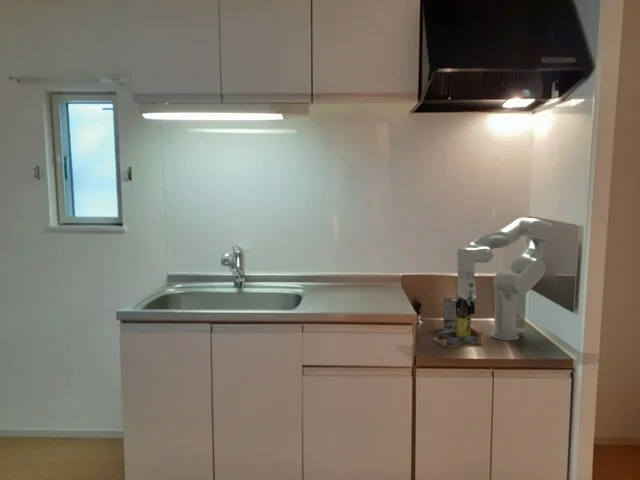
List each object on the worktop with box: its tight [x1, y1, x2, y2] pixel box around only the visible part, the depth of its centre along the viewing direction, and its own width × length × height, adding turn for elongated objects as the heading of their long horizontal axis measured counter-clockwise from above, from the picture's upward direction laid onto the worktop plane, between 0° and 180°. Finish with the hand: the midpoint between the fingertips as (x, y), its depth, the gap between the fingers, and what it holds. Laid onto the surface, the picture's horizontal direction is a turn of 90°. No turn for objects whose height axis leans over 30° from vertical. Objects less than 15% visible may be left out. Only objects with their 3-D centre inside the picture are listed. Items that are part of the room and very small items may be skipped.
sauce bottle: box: [456, 298, 472, 337], centre depth 218 cm, size 6×6×20 cm
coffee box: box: [442, 297, 459, 331], centre depth 233 cm, size 9×6×16 cm
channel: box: [432, 326, 483, 349], centre depth 218 cm, size 18×12×6 cm, turn 99°
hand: (466, 311), depth 217 cm, fingers open, 9 cm apart
